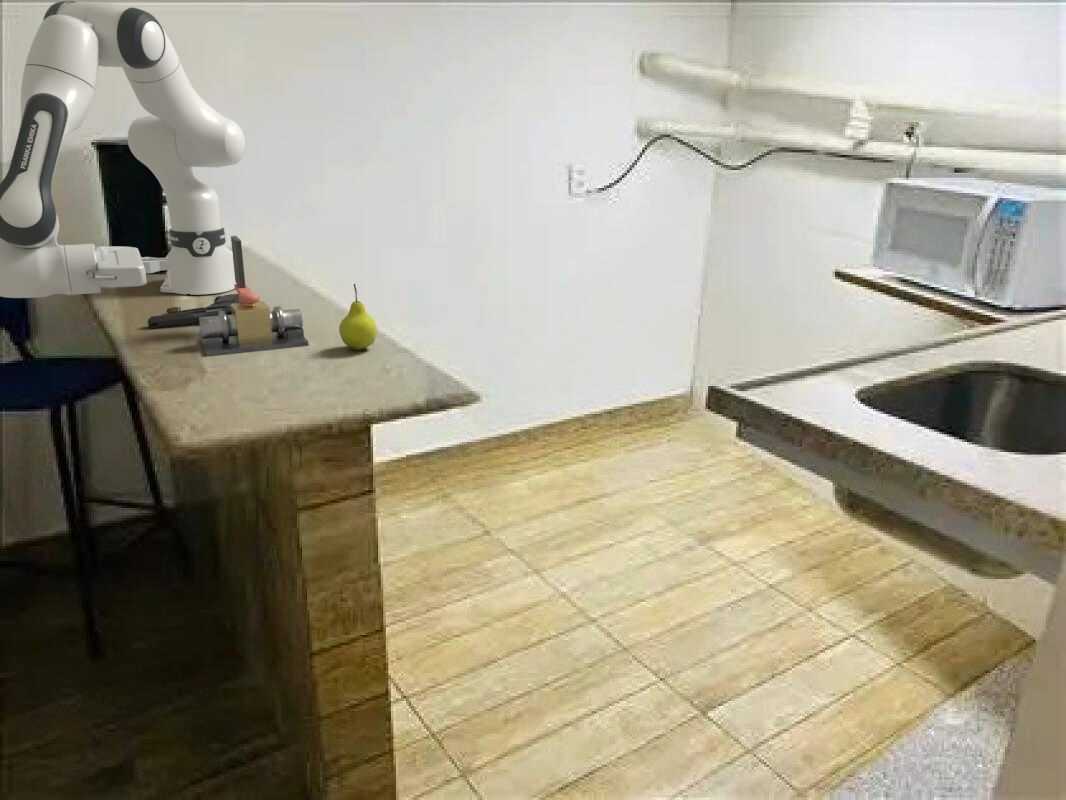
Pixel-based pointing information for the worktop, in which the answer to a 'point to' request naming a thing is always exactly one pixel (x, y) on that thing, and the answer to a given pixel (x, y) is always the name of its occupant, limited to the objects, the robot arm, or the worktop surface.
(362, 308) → the fruit
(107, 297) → the worktop surface
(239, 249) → the lever
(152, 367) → the worktop surface
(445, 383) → the worktop surface
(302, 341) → the valve
